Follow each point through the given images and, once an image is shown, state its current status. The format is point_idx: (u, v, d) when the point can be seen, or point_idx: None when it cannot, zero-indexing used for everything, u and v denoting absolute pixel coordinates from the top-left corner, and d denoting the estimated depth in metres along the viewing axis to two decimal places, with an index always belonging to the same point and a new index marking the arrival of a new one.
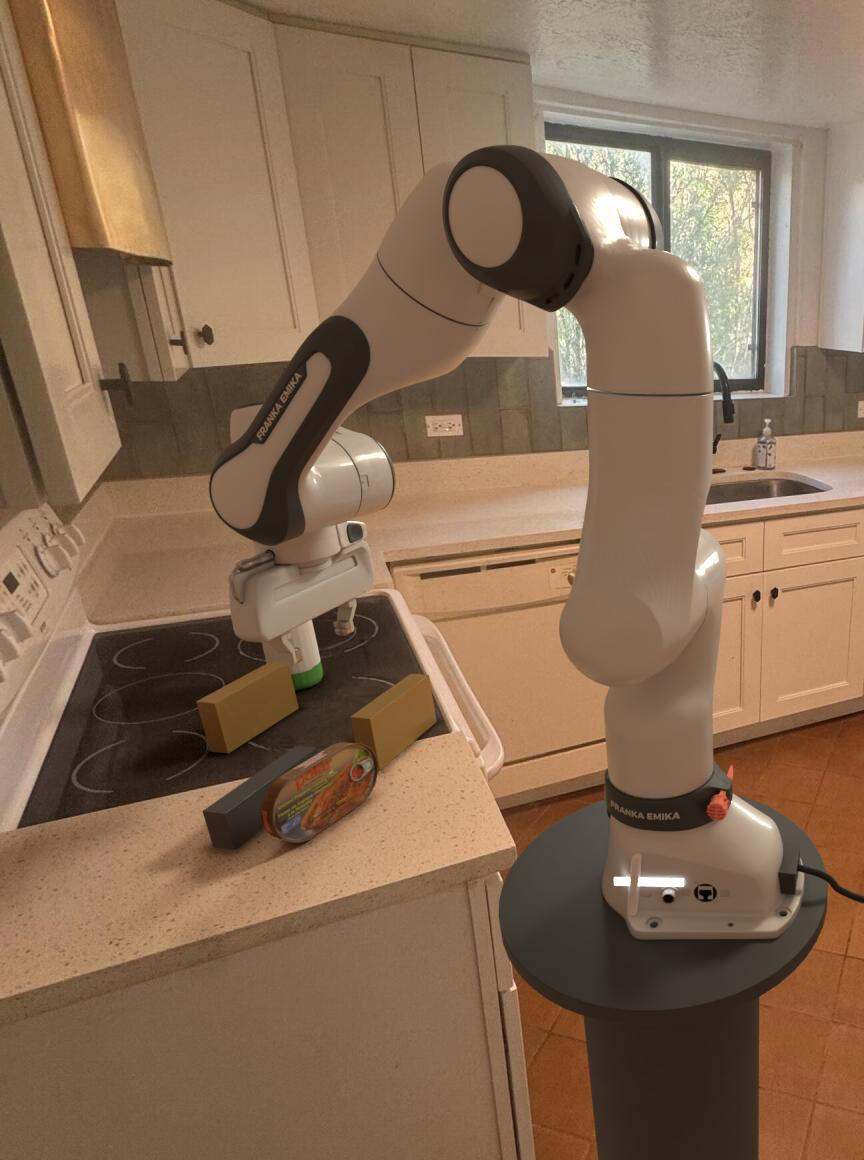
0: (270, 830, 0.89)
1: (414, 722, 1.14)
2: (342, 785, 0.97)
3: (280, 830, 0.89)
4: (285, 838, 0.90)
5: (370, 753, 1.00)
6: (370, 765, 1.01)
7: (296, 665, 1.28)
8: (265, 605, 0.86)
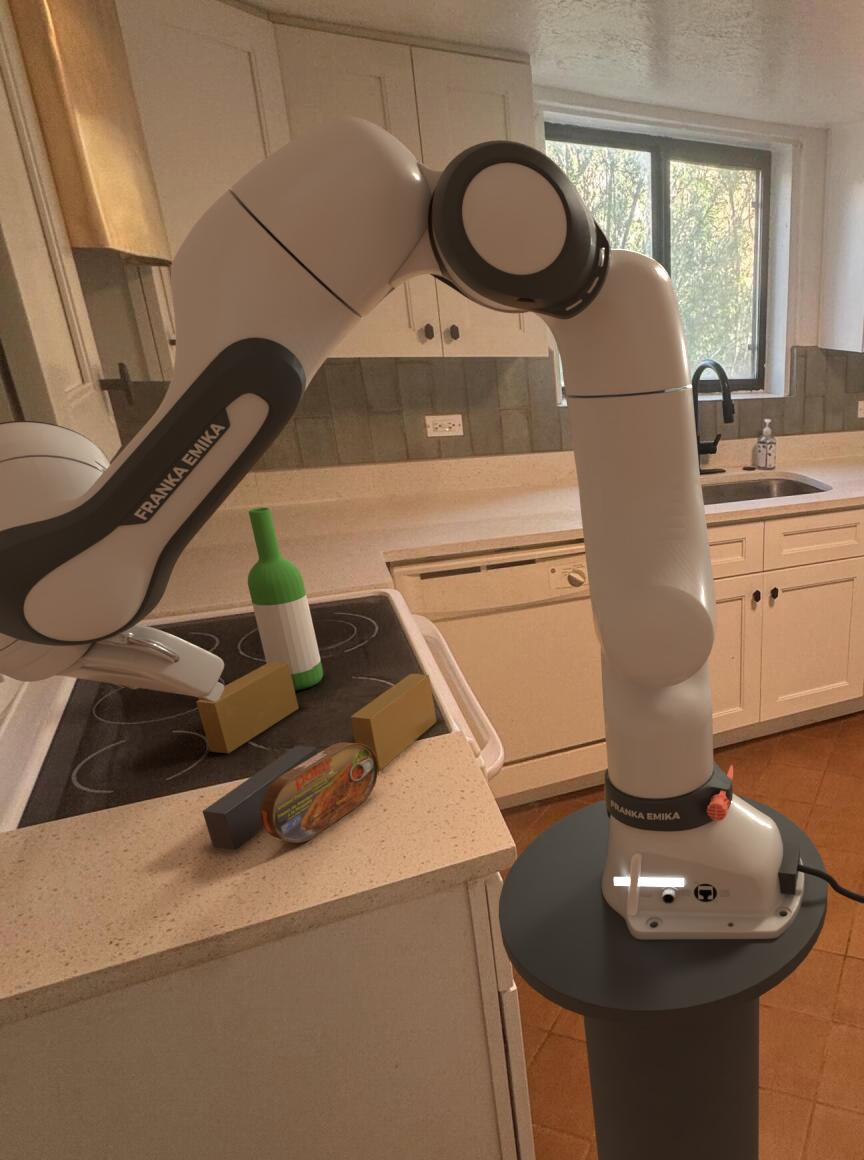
0: (270, 830, 0.89)
1: (414, 722, 1.14)
2: (342, 785, 0.97)
3: (280, 830, 0.89)
4: (285, 838, 0.90)
5: (370, 753, 1.00)
6: (370, 765, 1.01)
7: (296, 665, 1.28)
8: None
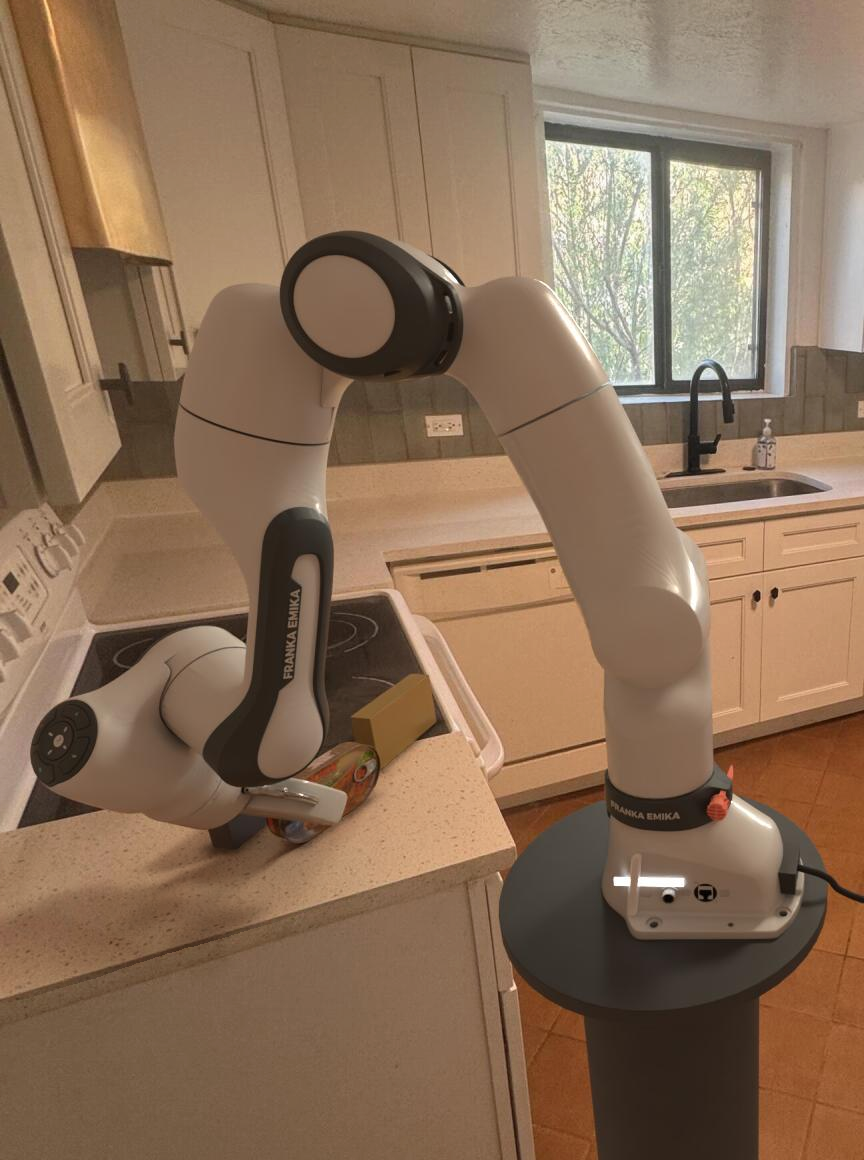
0: (274, 830, 0.89)
1: (414, 722, 1.14)
2: (345, 786, 0.97)
3: (284, 830, 0.89)
4: (288, 839, 0.90)
5: (375, 754, 1.00)
6: (373, 765, 1.00)
7: None
8: None
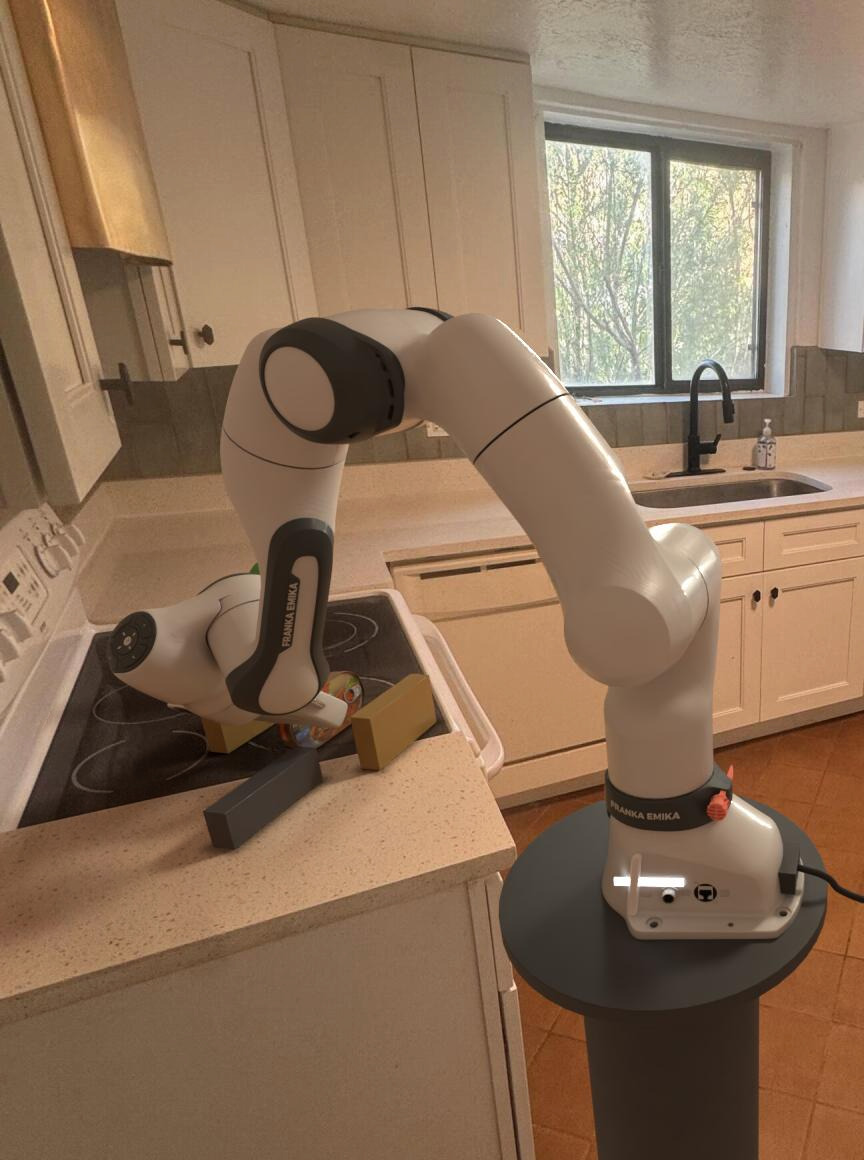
0: (286, 738, 1.08)
1: (414, 722, 1.14)
2: None
3: (295, 738, 1.09)
4: (299, 745, 1.09)
5: (358, 680, 1.21)
6: (358, 691, 1.21)
7: None
8: None
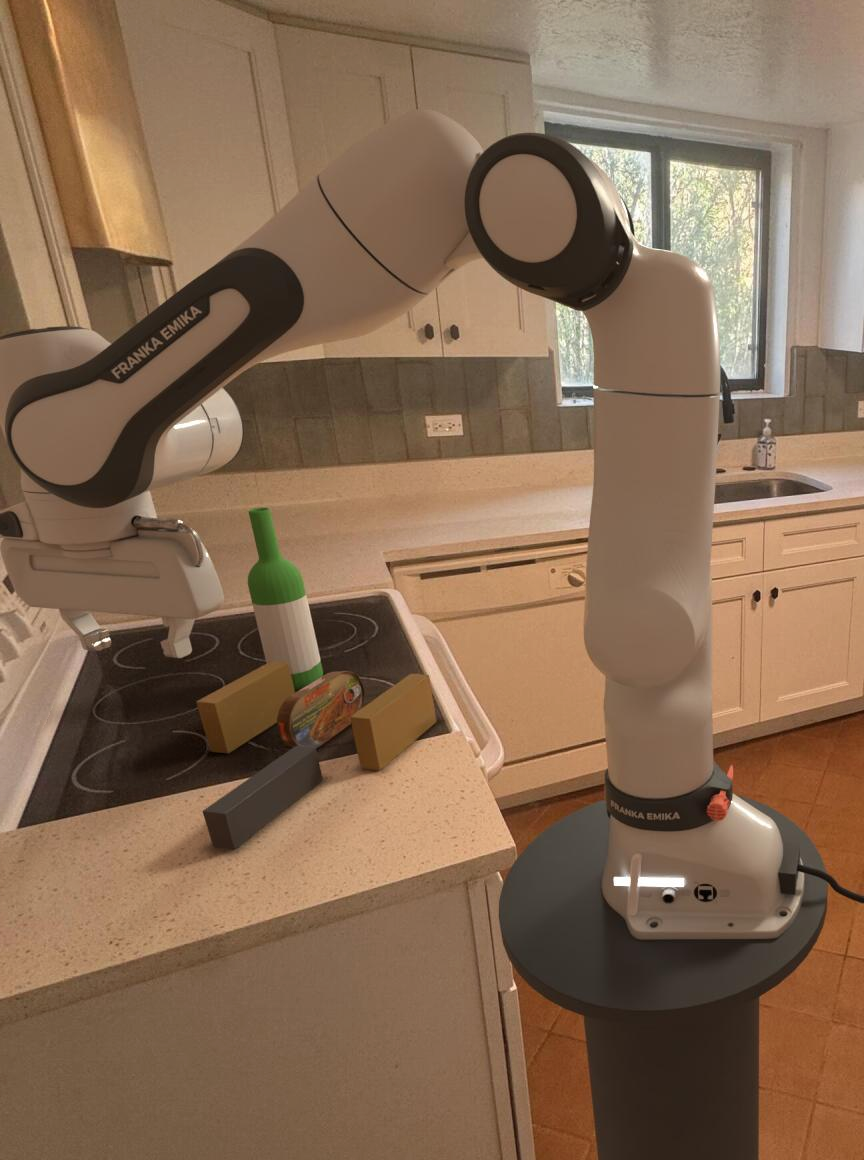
0: (286, 738, 1.08)
1: (414, 722, 1.14)
2: (338, 706, 1.17)
3: (295, 738, 1.09)
4: (299, 745, 1.09)
5: (358, 681, 1.21)
6: (358, 691, 1.21)
7: (296, 665, 1.28)
8: None
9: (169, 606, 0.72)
